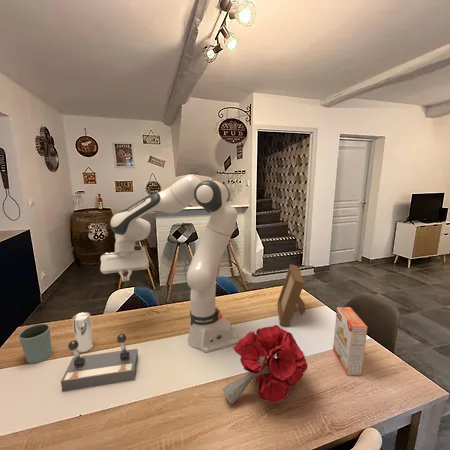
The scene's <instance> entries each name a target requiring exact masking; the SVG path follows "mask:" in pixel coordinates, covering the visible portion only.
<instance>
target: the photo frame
mask: <svg viewBox="0 0 450 450" xmlns="http://www.w3.org/2000/svg"><path fill="white" fill-rule="evenodd" d="M304 285H305V281H304V277H303V276H302V273H301V271H300V268H299V266H298V265H295V264H291V263H290V264H289V268H288V270H287V272H286V276H285V279H284V282H283V285H282V288H281V291H280V293H279V297H278V299H277V313H278V320H279V321H278V322H279V326H283V327H286V328H289V327H290V325H291V322H292V318H293V315H294V313H295V310H296V307H297V306H298V310H299V313H300V315H303V314H304V313H305V312H306V305H305V301H303V299H302V297H301V296H300V295H301V293H302V291H303V288H304Z"/></svg>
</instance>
